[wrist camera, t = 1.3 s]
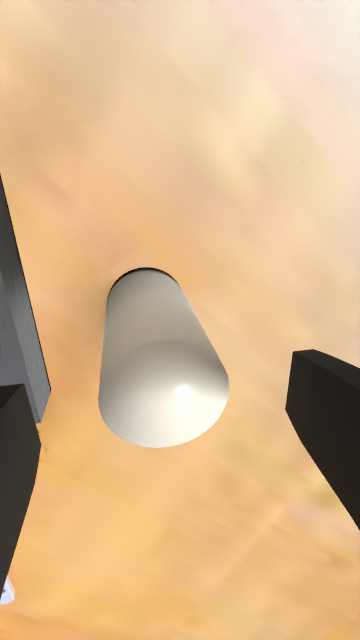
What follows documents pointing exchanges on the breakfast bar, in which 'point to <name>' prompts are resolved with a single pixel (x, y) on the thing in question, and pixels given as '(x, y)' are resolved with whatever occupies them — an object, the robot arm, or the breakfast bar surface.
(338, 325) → the breakfast bar surface
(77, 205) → the breakfast bar surface
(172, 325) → the peg
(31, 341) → the socket plate
